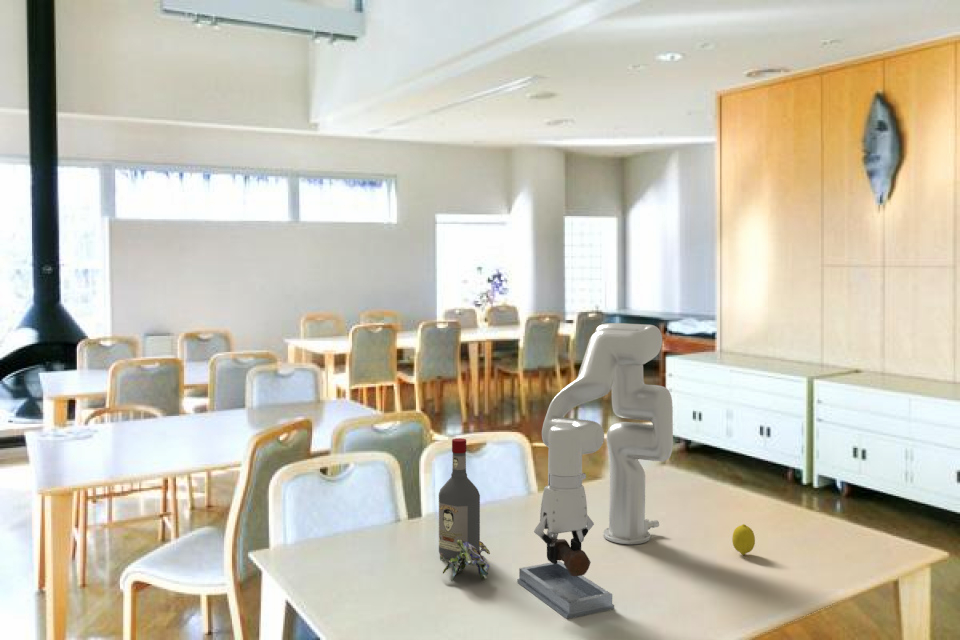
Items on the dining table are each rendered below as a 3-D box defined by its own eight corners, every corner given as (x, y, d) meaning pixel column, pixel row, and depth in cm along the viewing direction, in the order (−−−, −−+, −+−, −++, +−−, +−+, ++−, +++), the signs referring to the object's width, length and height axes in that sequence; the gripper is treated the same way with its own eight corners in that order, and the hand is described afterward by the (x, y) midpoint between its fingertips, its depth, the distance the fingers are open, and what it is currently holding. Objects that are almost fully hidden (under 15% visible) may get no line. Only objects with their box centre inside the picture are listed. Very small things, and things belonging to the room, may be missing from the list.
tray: (561, 574, 198) (561, 560, 198) (614, 608, 179) (614, 593, 178) (517, 582, 193) (517, 568, 193) (567, 619, 173) (567, 603, 173)
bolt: (556, 559, 192) (582, 581, 178) (538, 550, 191) (563, 572, 177) (567, 537, 193) (594, 557, 179) (550, 528, 192) (575, 547, 177)
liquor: (455, 547, 217) (455, 434, 215) (484, 554, 212) (484, 438, 210) (434, 557, 210) (433, 440, 208) (462, 564, 204) (462, 445, 202)
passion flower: (482, 600, 196) (500, 570, 190) (439, 599, 192) (457, 567, 186) (473, 561, 205) (490, 530, 198) (432, 558, 201) (448, 527, 194)
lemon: (755, 553, 213) (756, 522, 212) (753, 560, 208) (753, 529, 207) (733, 549, 215) (734, 519, 215) (730, 556, 210) (731, 526, 210)
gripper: (588, 472, 191) (586, 549, 192) (523, 480, 184) (522, 560, 185) (606, 480, 184) (605, 559, 186) (540, 489, 177) (539, 571, 178)
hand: (564, 559), depth 185 cm, fingers closed on bolt, 5 cm apart
